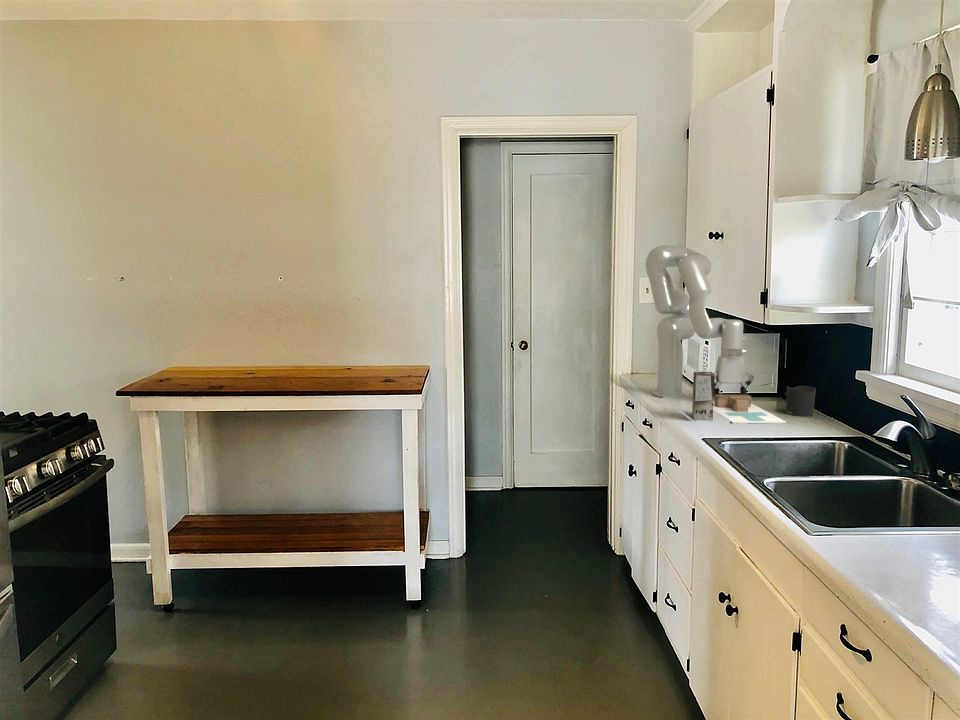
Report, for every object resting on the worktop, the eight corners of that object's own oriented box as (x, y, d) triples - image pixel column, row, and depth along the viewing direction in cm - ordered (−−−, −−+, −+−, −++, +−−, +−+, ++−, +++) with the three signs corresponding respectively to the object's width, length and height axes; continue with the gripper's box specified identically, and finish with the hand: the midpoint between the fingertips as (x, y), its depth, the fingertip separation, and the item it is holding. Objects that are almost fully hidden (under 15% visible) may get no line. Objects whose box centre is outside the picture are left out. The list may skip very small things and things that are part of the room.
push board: (701, 403, 283) (701, 401, 283) (748, 403, 284) (748, 401, 284) (732, 423, 250) (732, 421, 250) (785, 423, 250) (785, 421, 250)
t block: (714, 405, 277) (715, 394, 276) (746, 405, 277) (747, 394, 276) (725, 412, 265) (726, 401, 264) (759, 411, 265) (759, 400, 265)
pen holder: (785, 411, 268) (786, 384, 267) (813, 414, 264) (815, 386, 263) (785, 417, 259) (786, 389, 258) (814, 419, 256) (816, 391, 254)
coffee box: (713, 422, 252) (715, 375, 249) (693, 421, 253) (695, 375, 251) (710, 416, 261) (712, 371, 258) (691, 416, 262) (693, 370, 259)
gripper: (750, 351, 280) (748, 396, 282) (705, 351, 280) (703, 396, 282) (758, 354, 273) (756, 399, 275) (711, 354, 272) (709, 400, 275)
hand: (729, 398), depth 278 cm, fingers open, 9 cm apart
